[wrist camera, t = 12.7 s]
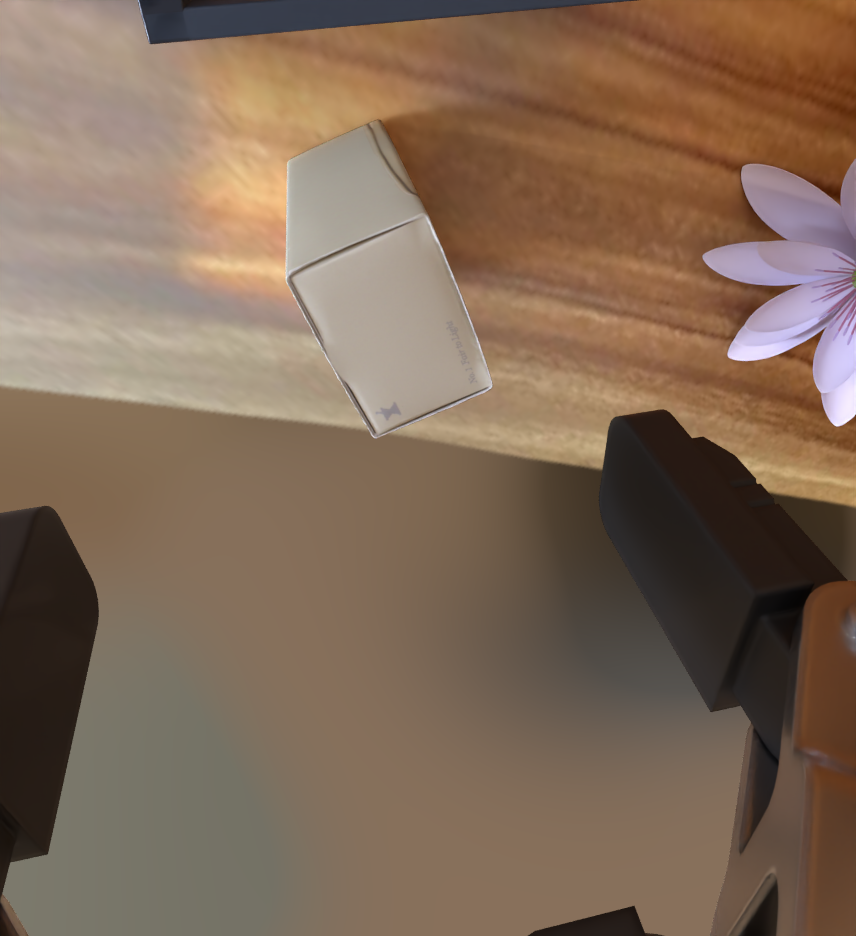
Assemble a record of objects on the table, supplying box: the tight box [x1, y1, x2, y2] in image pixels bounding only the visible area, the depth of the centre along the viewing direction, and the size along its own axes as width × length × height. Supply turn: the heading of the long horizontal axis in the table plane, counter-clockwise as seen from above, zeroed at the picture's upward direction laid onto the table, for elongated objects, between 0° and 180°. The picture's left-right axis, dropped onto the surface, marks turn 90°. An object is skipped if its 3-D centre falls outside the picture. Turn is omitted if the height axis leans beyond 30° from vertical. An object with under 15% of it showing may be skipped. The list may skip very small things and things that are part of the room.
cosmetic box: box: [286, 120, 493, 439], centre depth 25 cm, size 6×4×12 cm
